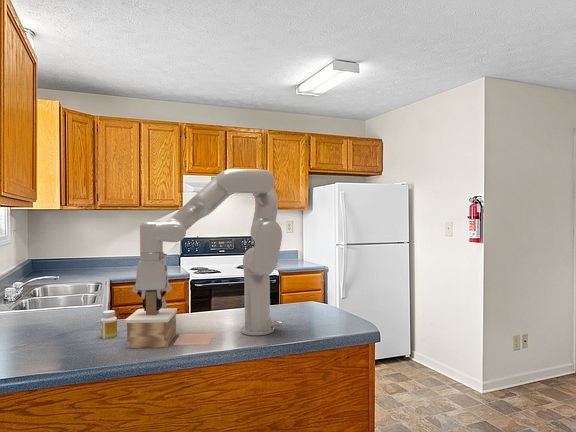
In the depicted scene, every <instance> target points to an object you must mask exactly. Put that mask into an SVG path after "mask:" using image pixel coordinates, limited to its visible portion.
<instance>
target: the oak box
mask: <svg viewBox="0 0 576 432" xmlns="http://www.w3.org/2000/svg"><path fill="white" fill-rule="evenodd" d="M176 314H177V312H176V313H175V315H174V316H173V317H172V318H171V319H170V320H169V322H153V323H126V332H127V333H126V338H127V339H126V340H127V341H126V343H127V345H126V346H127V347H126V348H127V349H137V348H138V349H139V348H141V349H144V348H145V349H146V348H149V349H150V348H168V347H169V345H170V344H171V342H172V341H173V340H174V338H175V336H176V335H177V315H176Z"/></svg>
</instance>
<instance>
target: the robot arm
mask: <svg viewBox="0 0 576 432" xmlns="http://www.w3.org/2000/svg"><path fill="white" fill-rule="evenodd" d="M275 185H276V179H275V176H274V174H273V173H272V172H271V171H269V170H267V169H263V168H260V169H259V168H258V169H254V168H253V169H249V168H227V169H224V170H222V171H220V172H219V173H218V174H217V175H215V176H214V178H212V179H211V180H210V181H209V182H208V183H207V184H206V185H205V186H204V187H203V188H202V189H200V190H199V191H198V192H197V193H196V194H195V195H194V196H192V197H191V199H189V201H187V202H186V203H185V204H184V205H183V206H182V207H181V208H179V209H178V210H177V211H176V212H175V213H174V214H172V215H171V217H169V218H168V220H166V221H165V222H164V221H162V222H160V221H154V220H153V221H150V220H149V221H142V222H141V223H140V224H139V261H138V262H137V268H136V275H135V276H136V277H135V284H134V285H133V287H132V289H131V292H133V293H135V294H137V295H138V296H139V298H141V300H142V307H143V308H144V311H146V291H148V290H157V296H158V297H157V300H156V310H157V311H159V310H160V309H161V307H162V299H163V297H164V296H165V295H166V294H168V293H170V292H171V291H172V290H173V287H172V286H171V284H170V282H169V276H168V275H169V274H168V266H167V262H166V260H165V258H168V253H165V252H164V246H163V245H164V244H163V243H164V242H165V243H167V242H168V243H178V242H181V241H183V239H185V237H186V234H187V231H188V230H189V229H190V228H192V226H193V225H194V224H196V223H197V222H198V221H200V220H201V219H203V218H205V217H207V216H209V215H210V214H211V213H213V212H214V211H215V210H217V208H218V207H219V206H221V204H222V203H223V202H225V201H226V200H227V199H228V198H229V197H230V196H231V195H232V194H233V193H235V194H237V193H239V194H252V196H253V197H254V198H253V199H254V201H255V203H254V204H255V206H254V212H253V213H254V214H253V219H252V223H251V227H250V237H251V239H252V240H253V242H254V246H253V247H250V248H249V249H247V250H246V251H245V253H244V255H243V258H242V270H243V278H244V280H243V281H244V286H243V287H244V289H243V290H244V293H243V294H244V325H243V326H241V327H240V333H242V334H243V335H246V336H266V335H270V334H271V333H274V331H275V327H283V321H281V320H276V319H275V320H273V319H272V316H271V298H270V297H271V295H270V294H271V282H270V275H271V274H272V273H273V272H274V271H275V269H276V268H277V265H278V261H279V256H280V251H281V247H282V240H283V231H282V230H283V229H282V227H281V225H280V224H279V223H278V222H277V221H276V220H277V216H278V210H279V209H278V207H279V201H278V194H277V193H276V191H275V188H274V187H275Z"/></svg>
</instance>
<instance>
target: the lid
mask: <svg viewBox="0 0 576 432" xmlns="http://www.w3.org/2000/svg"><path fill="white" fill-rule="evenodd" d="M157 297H158V296H157V290H148V291H146V311H144V309H142V308H138V309H137V310H135V311H134V312H133V313H131V314H130V315H129V316H128V317H127V318H125V319H124V324H127V323H153V322H169V320H170V319H171V318H172V317H173V316H174V315H175V313H176V314H177V312H178V308H175V307H174V308H172V307H171V308H168V307H167V308H165V309H160V310H159V311H157V310H156V300H157Z"/></svg>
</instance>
